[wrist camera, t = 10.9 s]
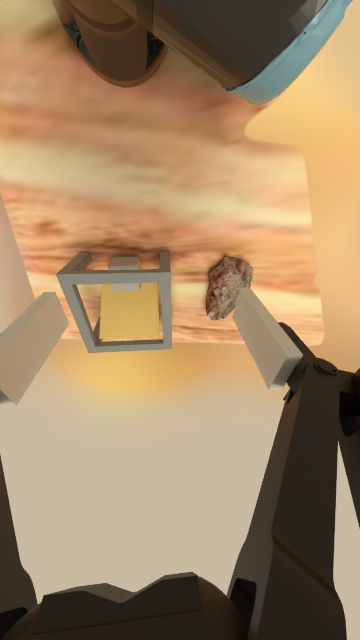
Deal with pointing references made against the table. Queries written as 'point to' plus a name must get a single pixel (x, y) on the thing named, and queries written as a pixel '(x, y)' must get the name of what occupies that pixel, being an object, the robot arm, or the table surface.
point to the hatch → (129, 312)
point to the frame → (77, 275)
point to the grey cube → (125, 264)
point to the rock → (226, 286)
